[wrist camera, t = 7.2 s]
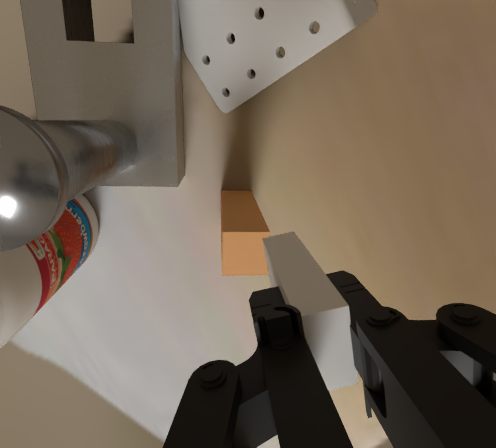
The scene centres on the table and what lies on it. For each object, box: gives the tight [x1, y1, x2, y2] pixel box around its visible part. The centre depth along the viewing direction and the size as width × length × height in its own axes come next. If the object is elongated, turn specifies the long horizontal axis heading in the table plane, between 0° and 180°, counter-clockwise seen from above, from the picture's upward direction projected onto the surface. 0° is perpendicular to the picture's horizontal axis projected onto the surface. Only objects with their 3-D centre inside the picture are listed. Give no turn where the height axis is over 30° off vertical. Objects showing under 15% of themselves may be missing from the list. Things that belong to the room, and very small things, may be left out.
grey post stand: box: [0, 0, 185, 251], centre depth 20 cm, size 10×16×21 cm, turn 178°
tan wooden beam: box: [221, 191, 270, 276], centre depth 28 cm, size 3×3×13 cm
